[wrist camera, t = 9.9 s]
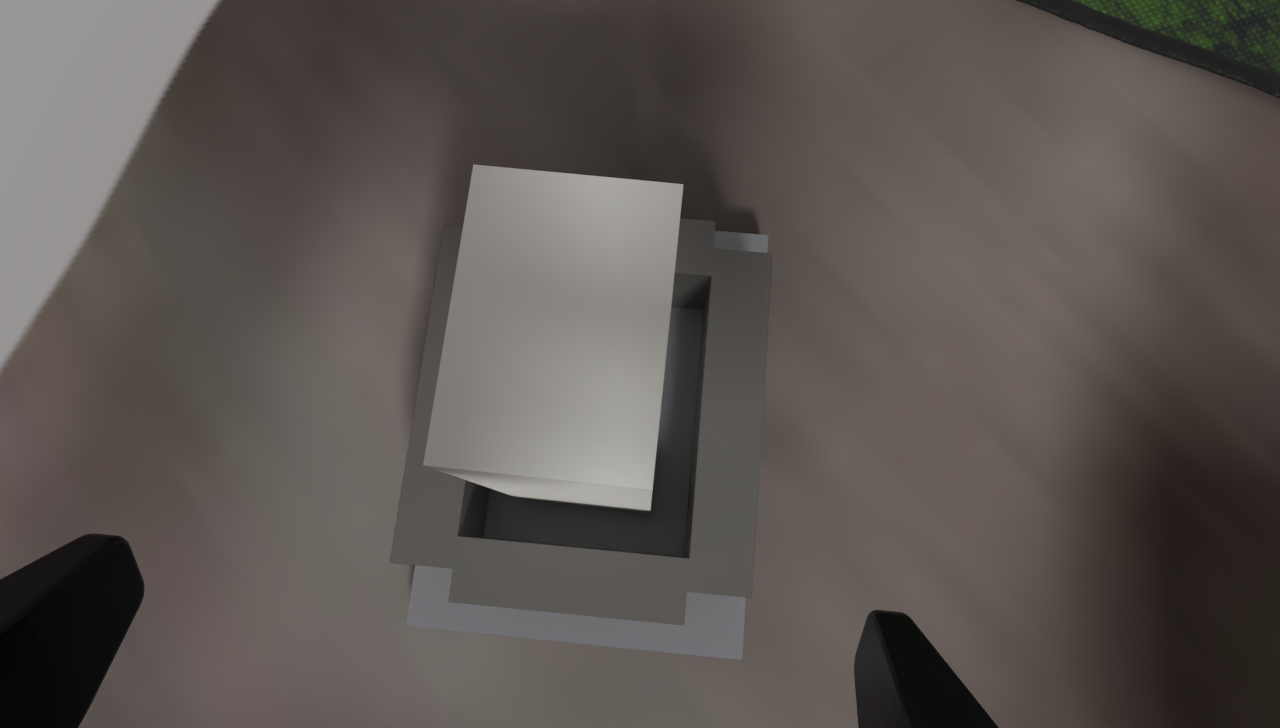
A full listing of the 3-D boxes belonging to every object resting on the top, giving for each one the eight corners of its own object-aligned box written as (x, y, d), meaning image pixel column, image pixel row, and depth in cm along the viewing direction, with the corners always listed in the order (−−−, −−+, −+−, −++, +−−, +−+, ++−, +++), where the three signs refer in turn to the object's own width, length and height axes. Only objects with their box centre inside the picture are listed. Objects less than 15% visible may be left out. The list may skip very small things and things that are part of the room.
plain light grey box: (650, 513, 22) (652, 489, 12) (524, 500, 22) (423, 465, 12) (668, 338, 23) (683, 183, 13) (548, 326, 23) (473, 164, 13)
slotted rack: (737, 654, 22) (757, 679, 18) (416, 622, 22) (366, 639, 18) (763, 247, 24) (785, 191, 20) (476, 223, 25) (444, 162, 21)
